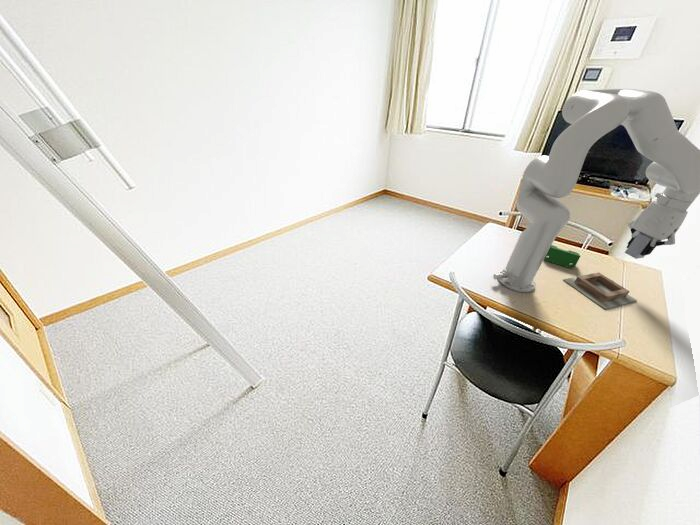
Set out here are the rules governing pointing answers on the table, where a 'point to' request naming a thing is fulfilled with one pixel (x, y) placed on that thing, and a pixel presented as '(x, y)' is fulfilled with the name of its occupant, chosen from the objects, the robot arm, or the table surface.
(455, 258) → the table surface
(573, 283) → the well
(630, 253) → the grey angular block
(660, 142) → the robot arm
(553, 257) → the green rectangular block
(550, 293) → the table surface
